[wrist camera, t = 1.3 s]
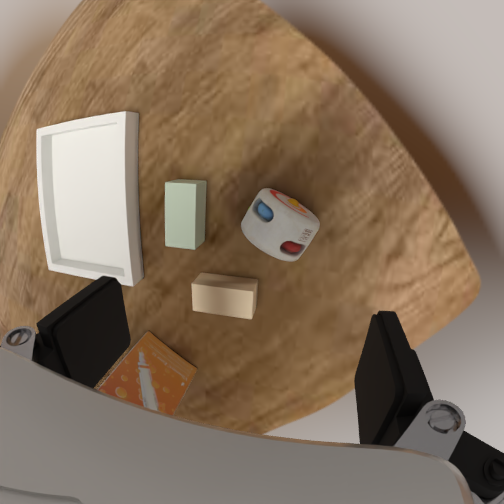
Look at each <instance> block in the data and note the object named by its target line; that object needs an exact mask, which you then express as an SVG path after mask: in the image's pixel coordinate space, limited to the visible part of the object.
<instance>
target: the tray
mask: <svg viewBox="0 0 504 504" xmlns="http://www.w3.org/2000/svg"><path fill="white" fill-rule="evenodd" d="M138 127H139V113H135V112H128V111H124V112H117V113H111V114H105V115H99V116H93V117H88V118H83V119H78V120H73V121H69V122H64V123H60V124H55V125H51V126H47V127H43V128H40V129H37V180H38V195H39V206H40V216H41V224H42V232H43V239H44V245H45V251H46V257H47V263H48V268H49V270H52V271H57V272H61V273H66V274H71V275H76V276H81V277H86V278H91V279H96V280H97V279H98V278H100V277H101V276H109V277H115V278H116V279H117V280H118V282H119V283H120V284H122V285H128V286H134V285H136V284H137V283H138V282H139V281H140V280H142V279H143V278H144V270H143V259H142V248H141V234H140V217H139V192H138Z"/></svg>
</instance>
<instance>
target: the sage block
mask: <svg viewBox="0 0 504 504" xmlns="http://www.w3.org/2000/svg"><path fill="white" fill-rule="evenodd" d="M206 184H207V181H203V180H185V179H176V180H172V181H169V182H165V246H170V247H177V248H185V249H193V250H195V249H196V248H197V247H199V246H200V245H201V244H202V243H203V242H204V241H205V211H206Z"/></svg>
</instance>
